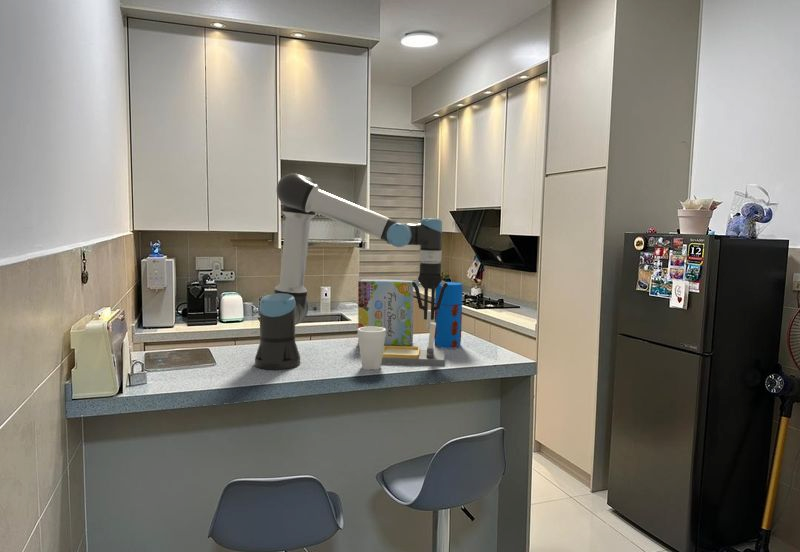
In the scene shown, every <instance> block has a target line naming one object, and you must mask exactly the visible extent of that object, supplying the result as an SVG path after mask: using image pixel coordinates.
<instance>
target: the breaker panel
mask: <svg viewBox="0 0 800 552" xmlns="http://www.w3.org/2000/svg"><path fill="white" fill-rule="evenodd" d="M386 363H395V364H394V365H414V364H419V365H418V366H421V365H422V366H441V365H443V367H445V350H443V349H442V350H441V349H440V350H439V349H434V352H433V354H431V353H428V354H427V349H421V346H411V345H410V346H408V345H384V349H383V356H382V363H381V364H386Z"/></svg>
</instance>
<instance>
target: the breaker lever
mask: <svg viewBox="0 0 800 552" xmlns="http://www.w3.org/2000/svg"><path fill="white" fill-rule="evenodd" d="M435 328H436V323H435V321H434V322H431V326H430V329H429V336H428V342H427V343H428V344H427V347H426V350H427V354H428V353H431V354H433V352H434V350H435V349H434V346H435V343H434V336H435Z"/></svg>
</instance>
